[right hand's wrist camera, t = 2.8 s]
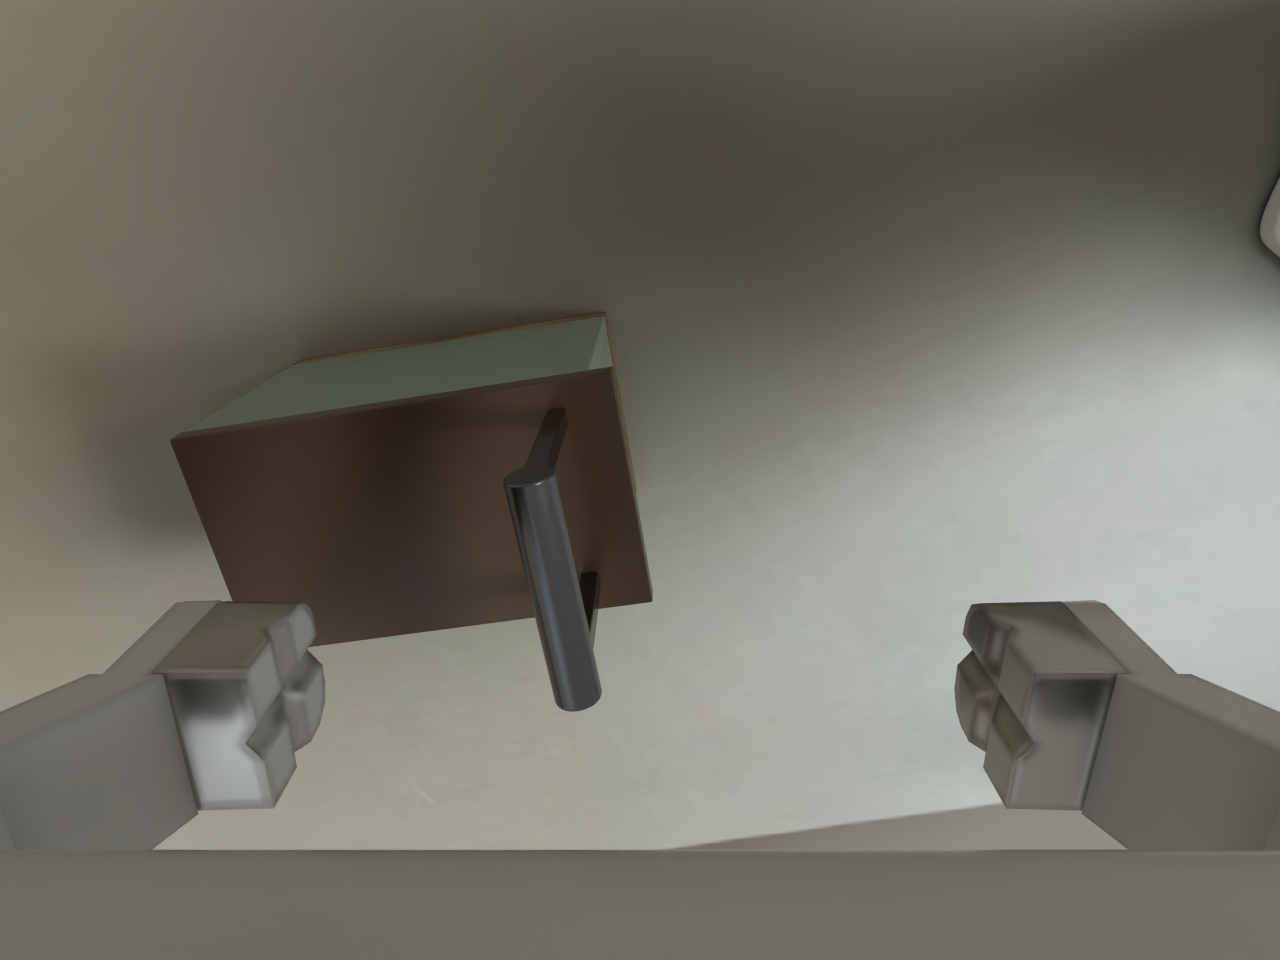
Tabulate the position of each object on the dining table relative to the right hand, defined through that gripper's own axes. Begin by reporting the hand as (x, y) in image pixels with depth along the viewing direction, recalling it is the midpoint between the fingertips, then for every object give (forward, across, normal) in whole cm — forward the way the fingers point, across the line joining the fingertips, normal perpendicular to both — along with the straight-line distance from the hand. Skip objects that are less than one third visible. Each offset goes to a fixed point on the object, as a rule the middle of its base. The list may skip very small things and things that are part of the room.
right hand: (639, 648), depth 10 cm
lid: (+21, +9, +8) cm, 24 cm away
